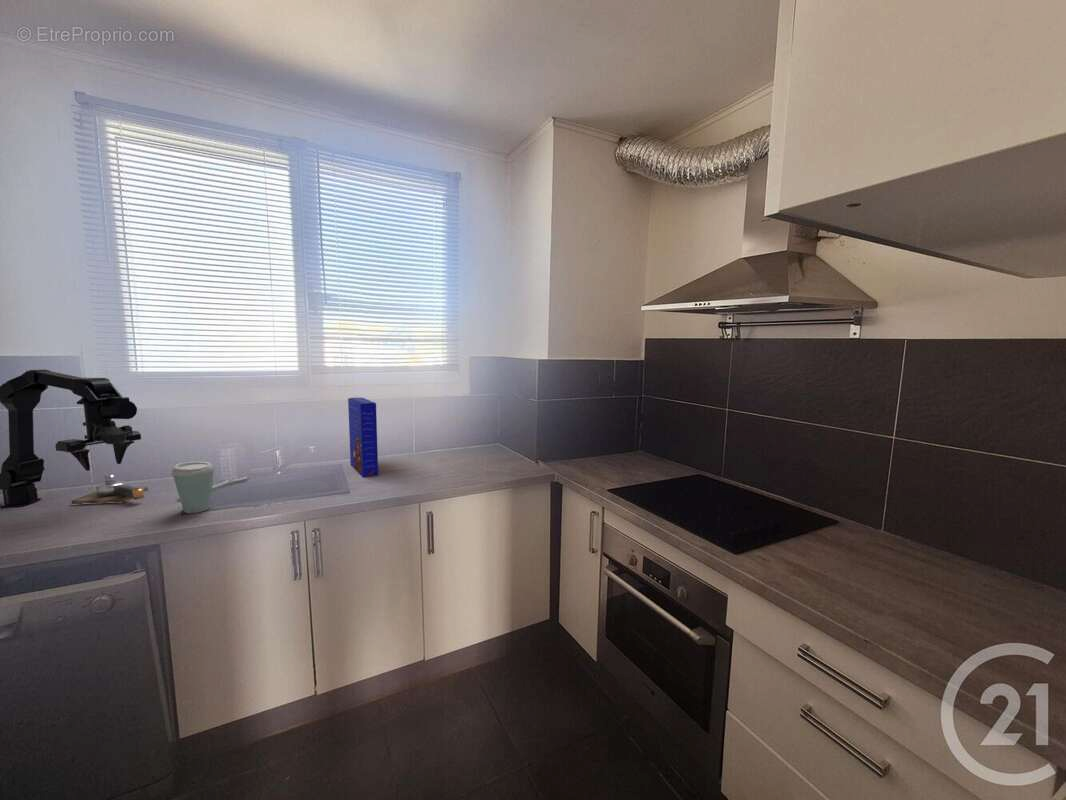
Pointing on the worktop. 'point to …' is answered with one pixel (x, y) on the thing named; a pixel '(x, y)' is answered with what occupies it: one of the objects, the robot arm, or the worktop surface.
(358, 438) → the cereal box
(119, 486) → the amber-knobbed lever
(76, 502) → the block
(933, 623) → the worktop surface
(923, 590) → the worktop surface
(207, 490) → the disposable coffee cup
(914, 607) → the worktop surface
